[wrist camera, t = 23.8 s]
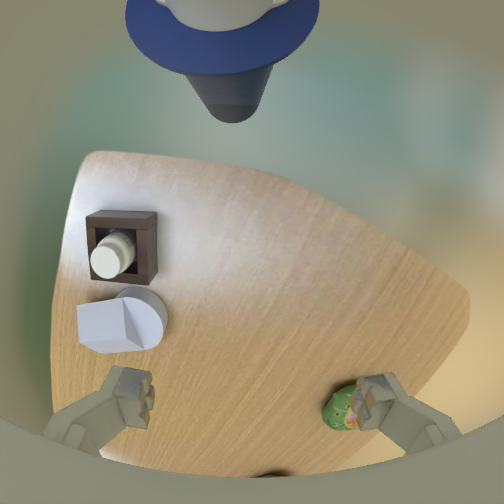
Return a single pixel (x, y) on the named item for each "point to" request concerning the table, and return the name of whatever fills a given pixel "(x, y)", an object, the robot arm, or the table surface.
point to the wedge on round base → (123, 322)
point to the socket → (145, 240)
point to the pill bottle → (114, 253)
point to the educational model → (340, 410)
